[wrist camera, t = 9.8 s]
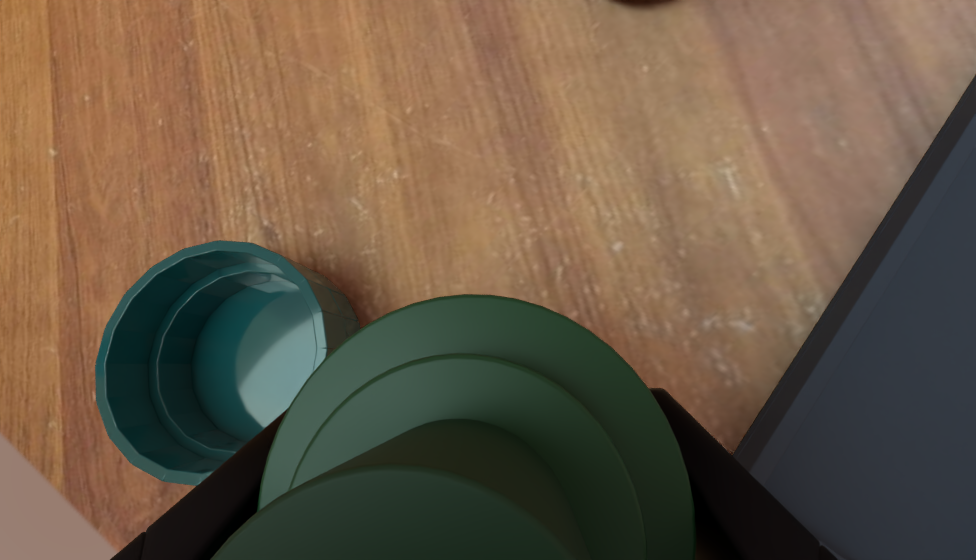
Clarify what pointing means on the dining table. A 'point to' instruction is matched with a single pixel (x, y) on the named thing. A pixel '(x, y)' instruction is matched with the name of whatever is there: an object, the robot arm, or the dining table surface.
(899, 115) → the dining table surface
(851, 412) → the tray
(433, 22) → the dining table surface
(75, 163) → the dining table surface
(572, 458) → the bottle
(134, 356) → the glazed bowl
